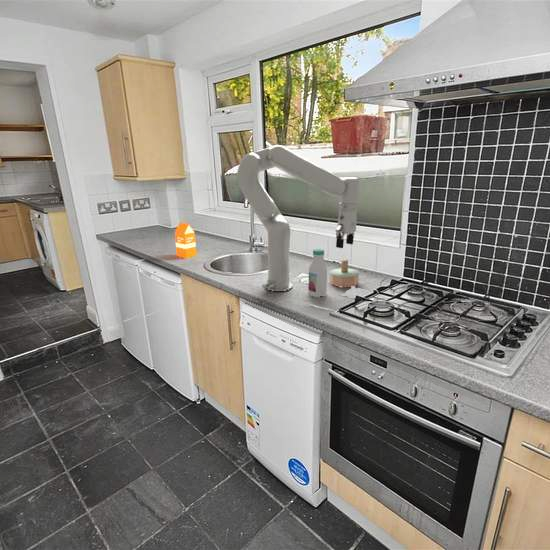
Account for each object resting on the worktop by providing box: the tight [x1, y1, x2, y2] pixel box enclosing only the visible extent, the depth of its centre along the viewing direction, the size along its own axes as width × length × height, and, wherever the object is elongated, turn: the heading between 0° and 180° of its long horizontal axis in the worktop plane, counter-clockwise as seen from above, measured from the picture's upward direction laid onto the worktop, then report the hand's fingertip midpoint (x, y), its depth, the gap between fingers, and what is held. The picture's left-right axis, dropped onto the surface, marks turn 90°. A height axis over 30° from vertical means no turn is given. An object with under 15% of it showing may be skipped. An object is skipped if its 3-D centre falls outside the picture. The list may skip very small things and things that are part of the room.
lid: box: [329, 259, 360, 278], centre depth 164 cm, size 13×13×6 cm
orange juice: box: [174, 222, 197, 259], centre depth 213 cm, size 8×9×20 cm
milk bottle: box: [307, 248, 328, 298], centre depth 151 cm, size 8×8×20 cm
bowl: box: [329, 273, 360, 287], centre depth 166 cm, size 12×12×5 cm
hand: (344, 245), depth 161 cm, fingers open, 9 cm apart
